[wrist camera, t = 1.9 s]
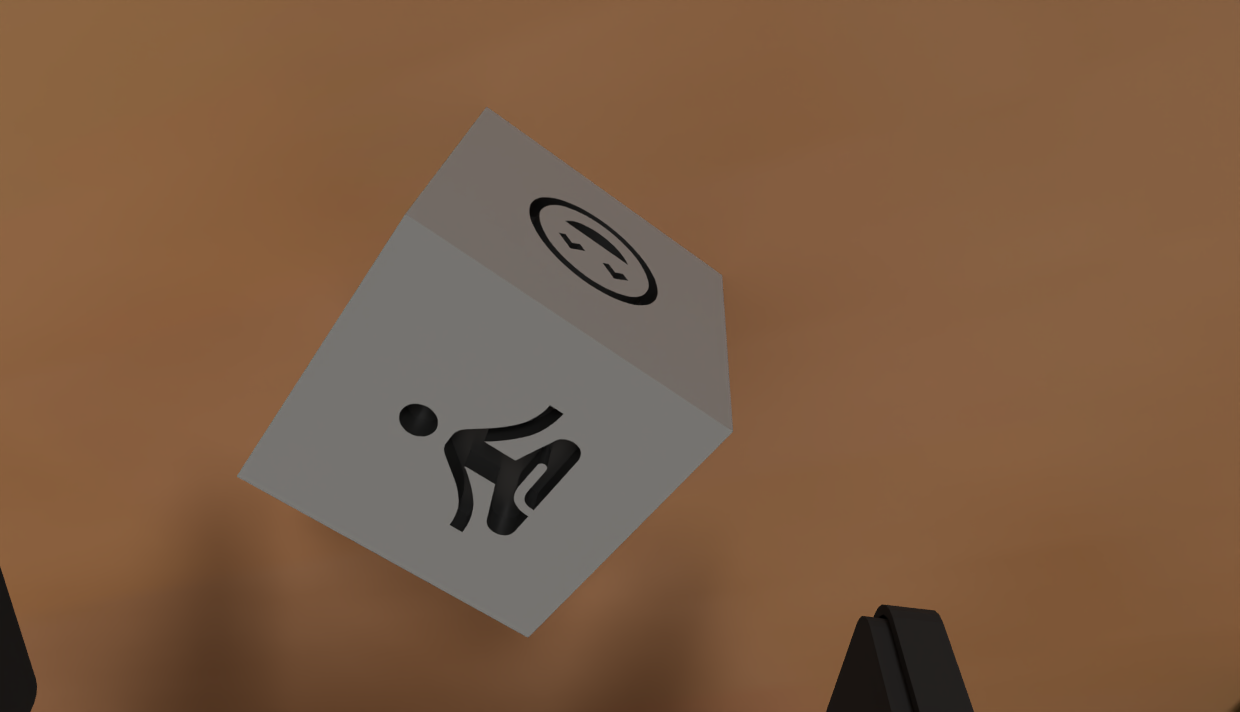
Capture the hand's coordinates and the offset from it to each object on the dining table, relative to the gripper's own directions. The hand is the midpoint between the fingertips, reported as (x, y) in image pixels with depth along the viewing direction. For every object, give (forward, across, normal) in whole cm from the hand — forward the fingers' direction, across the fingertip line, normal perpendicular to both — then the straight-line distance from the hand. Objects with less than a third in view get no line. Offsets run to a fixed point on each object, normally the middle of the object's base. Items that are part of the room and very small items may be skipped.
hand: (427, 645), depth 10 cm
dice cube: (+8, 0, 0) cm, 8 cm away
